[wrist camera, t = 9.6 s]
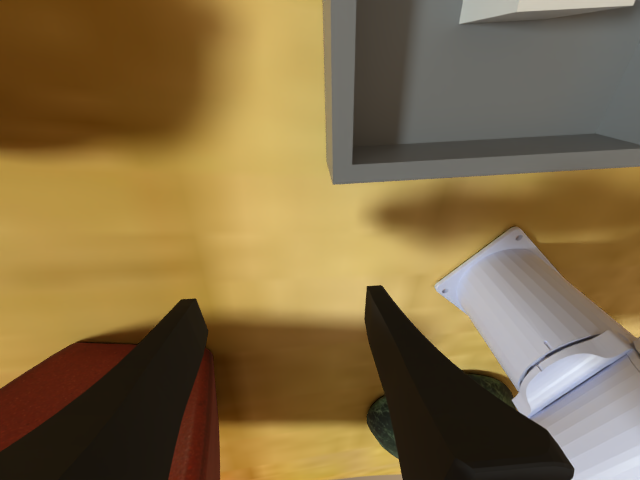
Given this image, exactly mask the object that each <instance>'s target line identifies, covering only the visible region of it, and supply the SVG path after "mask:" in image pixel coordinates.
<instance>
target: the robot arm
mask: <svg viewBox="0 0 640 480" xmlns="http://www.w3.org/2000/svg"><path fill="white" fill-rule="evenodd" d="M517 236H518V237H517ZM434 287H435V289H436V291H437V292H438V293H440V294H441V295H442V296H443V297H445V298H446V299H447V300H449V301H450V302H451V303H453V304H454V305H455V306H457V307H458V308H459V309H460V310H462V311H463V312H464V313H466V314H467V315H468V316H469V318H470V319H471V321H472V322H473V324H474V325H475V327H476V328H477V330H478V331H479V333H480V335H481V336H482V338H483V339H484V341H485V342H486V344H487V345H488V347H489V348H490V350H491V351H492V353H493V354H494V356H495V357H496V359H497V360H498V362H499V363H500V365H501V366H502V368H503V369H504V371H505V373H506V374H507V376H508V377H509V379H510V380H511V382H512V383H513V385H514V386H515V388H516V389H517V391H518V392H519V393H518V394H517V395H516V396H515V397H514V398H513V399H512V402H513V403H514V405H515V407H516V408H517V410H518V411H519V412H518V411H517V410H515V409H514V408H512V407H510V406H509V405H507V404H506V403H505V402H503V401H502V400H500V399H499V398H497V397H496V396H495V395H493V394H492V393H490V392H489V391H488V390H486V389H485V388H484V387H482V386H481V385H480V384H478V383H477V382H476V381H475V380H473V379H472V378H471V377H469V376H468V375H467V374H465V373H464V372H463V371H462V370H461V369H459V368H458V367H457V366H456V365H455V364H453V363H452V362H451V361H450V360H449V359H448V358H447V357H445V356H444V355H443V354H442V353H441V352H440V351H439V350H438V349H437V348H436V347H435V346H434V345H433V344H432V343H431V342H430V341H429V340H428V339H427V338H426V337H425V336H424V335H423V334H422V333H421V332H420V331H419V330H418V329H417V328H416V327H415V326H414V325H413V323H412V322H411V321H410V320H409V319H408V318H407V317H406V315H405V314H404V313H403V312H402V311H401V310H400V308H399V307H398V306H397V305H396V303H395V302H394V301H393V300H392V298H391V297H390V296H389V294H388V293H387V292H386V290H385V289H384V287H382V286H381V285H379V286H367V292H366V306H365V325H366V330H367V335H368V340H369V344H370V348H371V351H372V354H373V357H374V361H375V364H376V367H377V370H378V374H379V377H380V380H381V383H382V387H383V390H384V393H385V397H386V401H387V404H388V409H389V413H390V418H391V423H392V427H393V432H394V437H395V442H396V447H397V452H398V457H399V462H400V467H401V473H402V478H403V480H640V337H639V338H636V337H634V336H633V335H632V334H631V333H630V332H628V331H627V330H626V329H625V328H624V327H622V326H621V325H620V324H619V323H618V322H616V321H615V320H614V319H613V318H612V317H610V316H609V315H608V314H607V313H606V312H604V311H603V310H602V309H601V308H599V307H598V306H597V305H596V304H595V303H593V302H592V301H591V300H590V299H589V298H587V297H586V296H585V295H584V294H583V293H581V292H580V291H579V290H578V289H577V288H575V287H574V286H573V285H572V284H571V283H569V282H568V281H567V280H566V279H565V278H563V276H562V275H561V274H560V273H559V272H558V271H557V270H556V268H555V267H554V266H553V265H552V264H551V263H550V262H549V260H548V259H547V258H546V257H545V256H544V255H543V254H542V252H541V251H540V250H539V249H538V248H537V247H536V246H535V244H534V243H533V242H532V241H531V240H530V239H529V238H528V236H527V235H526V234H525V233H524V232H523V231H522V230H521V229H520V228H519V227H512V228H510V229H509V230H507V231H506V232H505V233H503V234H502V235H501V236H499V237H498V238H497V239H495V240H494V241H493V242H491V243H490V244H489V245H487V246H486V247H485V248H483V249H482V250H480V251H479V252H478V253H476V254H475V255H474V256H472V257H471V258H470V259H468V260H467V261H466V262H464V263H463V264H462V265H460V266H459V267H458V268H456V269H455V270H454V271H452V272H451V273H450V274H448V275H447V276H445V277H444V278H443V279H441V280H440V281H439V282H437V283H436V284H435V286H434ZM444 289H445V290H444ZM207 336H208V329H207V326H206V324H205V321H204V318H203V316H202V313H201V310H200V308H199V305H198V303H197V300H196V299H182V300H180V301H179V302H178V303H177V304H176V305H175V306H174V308H173V309H172V310H171V311H170V312H169V313H168V314H167V315H166V316H165V317H164V318H163V319H162V320H161V321H160V322H159V323H158V324H157V325H156V327H155V328H154V329H153V330H152V331H151V332H150V333H149V334H148V335H147V336H146V337H145V338H144V339H143V340H142V341H141V342H140V343H139V344H138V345H137V346H136V347H135V348H134V349H132V350H131V351H130V352H129V353H128V354H127V355H126V356H125V357H124V358H123V359H122V360H121V361H120V362H119V363H118V364H117V365H116V366H114V367H113V368H112V369H111V370H110V371H109V372H108V373H106V374H105V375H104V376H103V377H102V378H101V379H99V380H98V381H97V382H96V383H95V384H93V385H92V386H91V387H90V388H89V389H87V390H86V391H85V392H84V393H82V394H81V395H80V396H78V397H77V398H76V399H74V400H73V401H72V402H70V403H69V404H68V405H66V406H65V407H64V408H62V409H61V410H60V411H59V412H57V413H56V414H55V415H53V416H52V417H50V418H49V419H48V420H46V421H45V422H43V423H42V424H41V425H39V426H38V427H36V428H35V429H33V430H32V431H31V432H29V433H28V434H26V435H25V436H23V437H22V438H20V439H19V440H17V441H16V442H14V443H13V444H11V445H10V446H8V447H7V448H5V449H4V450H2V451H0V480H168V478H169V474H170V469H171V464H172V460H173V455H174V451H175V446H176V442H177V438H178V434H179V430H180V425H181V422H182V418H183V415H184V411H185V408H186V405H187V402H188V400H189V397H190V394H191V391H192V388H193V385H194V382H195V379H196V376H197V373H198V370H199V367H200V364H201V361H202V358H203V355H204V351H205V346H206V341H207Z"/></svg>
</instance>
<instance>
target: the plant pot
mask: <svg viewBox="0 0 640 480" xmlns="http://www.w3.org/2000/svg"><path fill="white" fill-rule="evenodd" d="M136 346H137V345H131V344H105V343H74V344H71V345H69V346H68V347H66V348H64V349H62V350H61V351H59V352H57V353H55V354H54V355H52V356H50V357H49V358H47V359H46V360H44V361H43V362H41V363H40V364H38V365H36V366H35V367H33V368H32V369H30V370H28V371H27V372H25V373H24V374H22V375H21V376H19V377H17V378H16V379H14V380H13V381H11V382H10V383H8V384H7V385H5V386H4V387H2V388H1V389H0V451H2V450H4V449H5V448H7V447H8V446H10V445H11V444H13V443H14V442H16V441H17V440H19V439H20V438H22V437H23V436H25V435H26V434H28V433H29V432H31V431H32V430H33V429H35V428H36V427H38V426H39V425H41V424H42V423H43V422H45V421H46V420H48V419H49V418H50V417H52V416H53V415H55V414H56V413H57V412H59V411H60V410H61V409H62V408H64V407H65V406H66V405H68V404H69V403H70V402H72V401H73V400H74V399H76V398H77V397H78V396H80V395H81V394H82V393H84V392H85V391H86V390H87V389H89V388H90V387H91V386H92V385H93V384H95V383H96V382H97V381H98V380H99V379H101V378H102V377H103V376H104V375H105V374H106V373H108V372H109V371H110V370H111V369H112V368H113V367H114V366H116V365H117V364H118V363H119V362H120V361H121V360H122V359H123V358H124V357H125V356H126V355H127V354H128V353H129V352H130V351H131V350H132V349H134V348H135V347H136ZM168 480H220V443H219V421H218V409H217V397H216V386H215V375H214V364H213V355H212V353H211V352H210V351H209V350H208V349H206V348H205V351H204V355H203V358H202V361H201V364H200V367H199V370H198V373H197V376H196V379H195V382H194V385H193V388H192V391H191V394H190V397H189V400H188V402H187V405H186V408H185V411H184V415H183V418H182V422H181V425H180V430H179V434H178V438H177V442H176V446H175V451H174V455H173V460H172V464H171V469H170V474H169V478H168Z"/></svg>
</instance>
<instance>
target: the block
mask: <svg viewBox="0 0 640 480" xmlns="http://www.w3.org/2000/svg"><path fill="white" fill-rule="evenodd" d="M634 2H635V0H463V4H462V9H461V15H460V21H459V24H471V23H489V22H507V21H525V20H543V19H551V18H557V17H564V16H570V15H577V14H583V13H589V12H596V11H602V10H608V9H615V8H621V7H627V6H633V5H634Z"/></svg>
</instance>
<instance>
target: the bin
mask: <svg viewBox="0 0 640 480" xmlns="http://www.w3.org/2000/svg"><path fill="white" fill-rule="evenodd" d="M462 4H463V0H323V33H324V74H325V115H326V157H327V165H328V168H329V172H330V176H331V179H332V183H333V184H350V183H367V182H384V181H401V180H418V179H435V178H452V177H469V176H486V175H503V174H520V173H537V172H554V171H571V170H588V169H605V168H622V167H639V166H640V0H635V2H634V5H633V6H627V7H621V8H615V9H608V10H602V11H596V12H589V13H583V14H577V15H570V16H564V17H557V18H551V19H543V20H525V21H507V22H489V23H471V24H459V21H460V15H461V9H462Z"/></svg>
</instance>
